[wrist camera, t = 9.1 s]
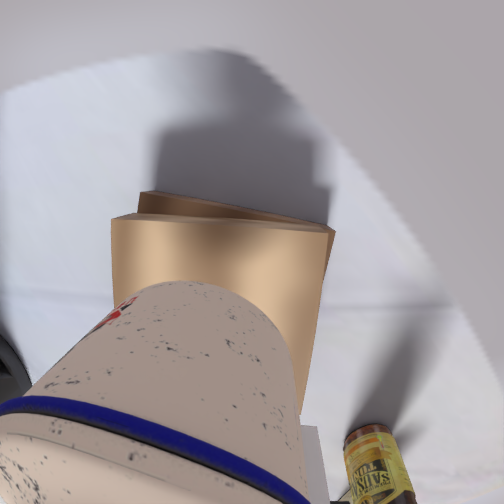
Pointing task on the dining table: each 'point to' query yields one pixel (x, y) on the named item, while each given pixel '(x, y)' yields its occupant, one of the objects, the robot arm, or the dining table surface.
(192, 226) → the tower top block
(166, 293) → the teacup with lid
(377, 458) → the sauce bottle
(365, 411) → the dining table surface
